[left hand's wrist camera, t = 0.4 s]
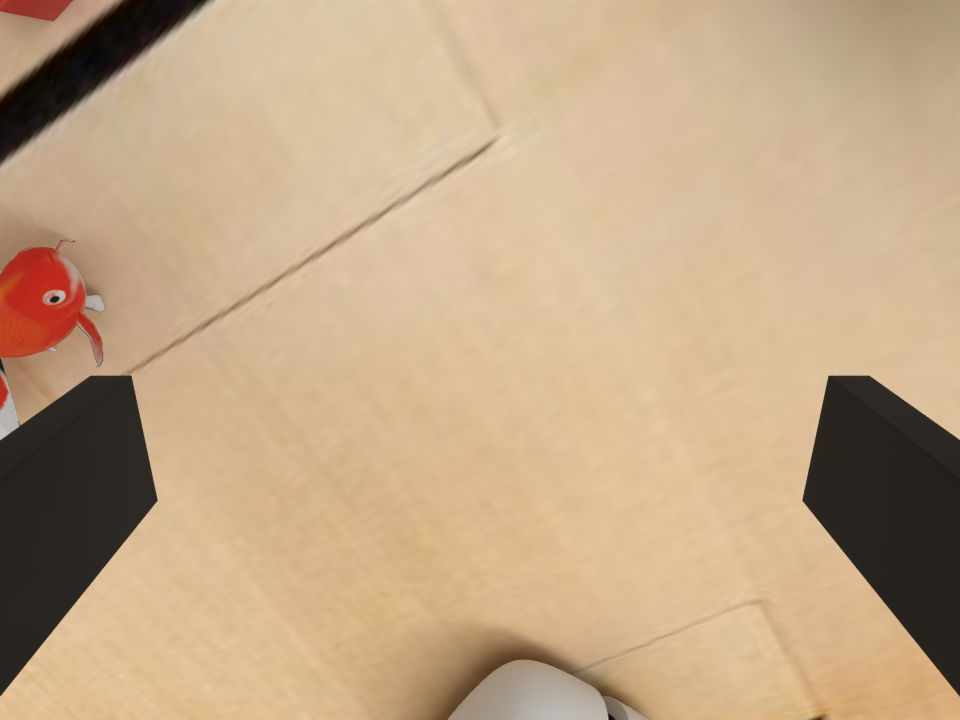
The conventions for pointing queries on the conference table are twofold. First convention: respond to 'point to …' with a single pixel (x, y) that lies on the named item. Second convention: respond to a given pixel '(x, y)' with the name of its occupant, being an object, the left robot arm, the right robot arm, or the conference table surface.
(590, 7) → the conference table surface
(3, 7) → the block
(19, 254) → the fish
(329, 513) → the conference table surface
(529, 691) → the projector
